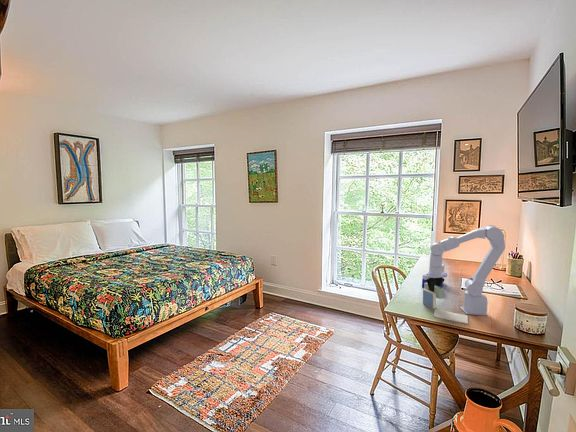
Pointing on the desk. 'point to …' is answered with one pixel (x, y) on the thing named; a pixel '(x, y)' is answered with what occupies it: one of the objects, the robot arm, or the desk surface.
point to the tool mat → (451, 316)
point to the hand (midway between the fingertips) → (433, 291)
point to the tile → (429, 298)
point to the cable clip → (426, 282)
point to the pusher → (436, 291)
